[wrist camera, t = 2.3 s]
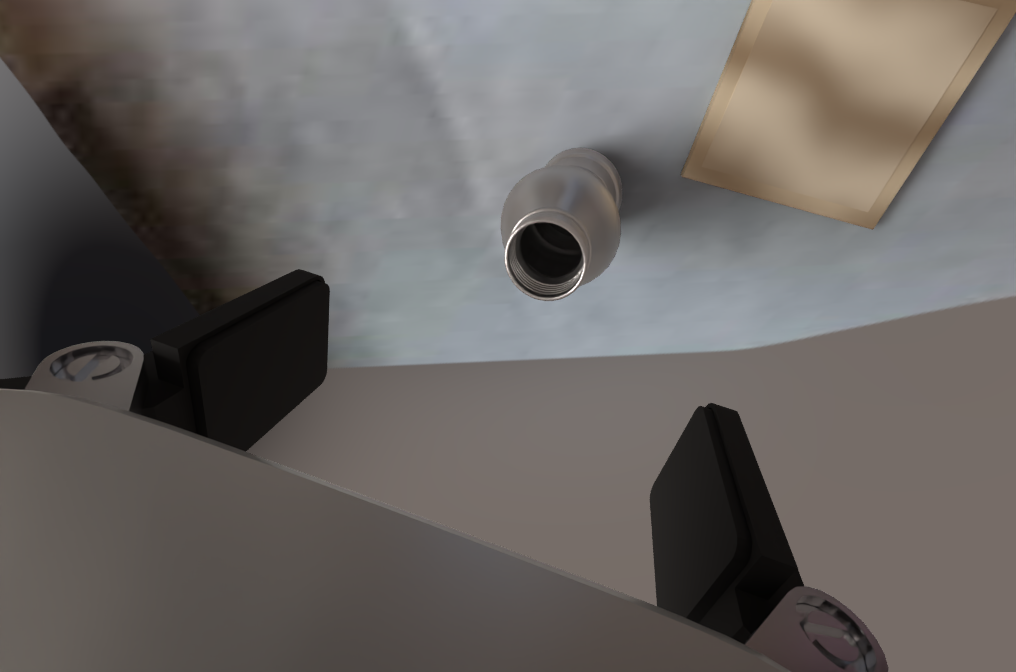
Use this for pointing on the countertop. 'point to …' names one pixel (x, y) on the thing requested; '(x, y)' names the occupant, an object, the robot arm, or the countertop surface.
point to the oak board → (839, 98)
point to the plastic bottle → (562, 224)
